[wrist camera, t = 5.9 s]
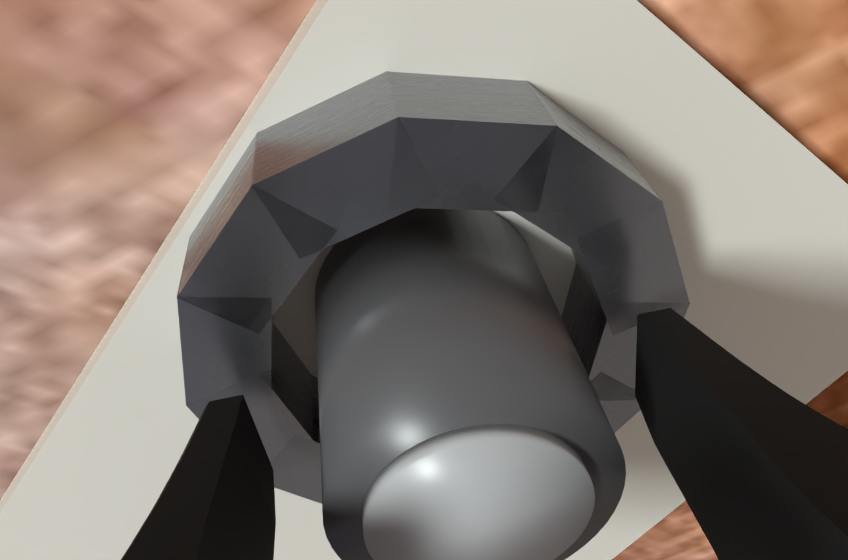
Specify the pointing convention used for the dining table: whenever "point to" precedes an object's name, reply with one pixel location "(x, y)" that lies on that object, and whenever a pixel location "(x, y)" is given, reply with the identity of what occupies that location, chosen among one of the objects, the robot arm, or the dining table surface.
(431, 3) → the board
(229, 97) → the dining table surface
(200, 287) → the grey faceted ring
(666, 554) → the dining table surface
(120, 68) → the dining table surface
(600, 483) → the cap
